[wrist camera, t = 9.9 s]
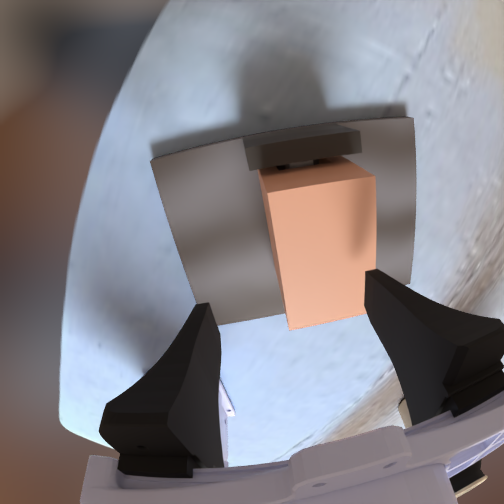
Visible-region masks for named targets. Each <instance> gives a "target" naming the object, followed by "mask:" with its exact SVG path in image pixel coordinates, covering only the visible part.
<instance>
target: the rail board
mask: <svg viewBox="0 0 504 504" xmlns="http://www.w3.org/2000/svg"><path fill="white" fill-rule="evenodd" d="M335 156H343V157H344V158H346V159H348V160H350V161H351V162H353V163H355V164H356V165H358V166H360V167H361V168H363V169H365V170H366V171H368V172H370V173H371V174H373V175H374V176H375V179H376V269H379V270H381V271H382V272H384V273H386V274H387V275H389V276H390V277H392V278H394V279H395V280H397V281H398V282H400V283H402V284H403V285H407V284H410V280H411V271H412V261H413V250H414V237H415V219H416V148H415V130H414V118H411V117H389V118H374V119H361V120H350V121H341V122H332V123H323V124H315V125H308V126H301V127H294V128H288V129H281V130H275V131H270V132H264V133H258V134H253V135H248V136H243V137H238V138H233V139H228V140H224V141H219V142H215V143H210V144H206V145H202V146H198V147H194V148H190V149H186V150H182V151H178V152H174V153H171V154H167V155H163V156H160V157H156V158H153V159H152V160H151V161H150V163H151V166H152V170H153V173H154V177H155V180H156V184H157V187H158V190H159V194H160V197H161V200H162V203H163V207H164V210H165V213H166V216H167V219H168V222H169V225H170V228H171V231H172V235H173V238H174V241H175V244H176V246H177V249H178V252H179V255H180V258H181V261H182V264H183V267H184V270H185V272H186V275H187V278H188V281H189V284H190V286H191V289H192V292H193V294H194V297H195V300H196V303H197V304H201V303H207V302H209V303H210V306H211V309H212V312H213V315H214V318H215V321H216V324H217V326H218V325H224V324H230V323H236V322H241V321H247V320H252V319H258V318H263V317H268V316H274V315H279V314H284V313H285V309H284V305H283V301H282V296H281V292H280V288H279V283H278V279H277V275H276V271H275V265H274V259H273V253H272V248H271V242H270V236H269V230H268V225H267V219H266V213H265V208H264V202H263V197H262V191H261V186H260V180H259V175H258V169H263V168H268V167H274V166H276V167H277V169H278V170H285V169H291V168H297V167H304V166H310V165H317V164H319V159H321V158H328V157H335Z"/></svg>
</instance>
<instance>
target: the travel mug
mask: <svg viewBox="0 0 504 504" xmlns="http://www.w3.org/2000/svg"><path fill="white" fill-rule="evenodd" d="M398 410H399V413H400V415H401V418H402V420H403V422H404V425H405V427H406V428H409V427H411V426H412V423H411V418H410V414H409V410H408V407H407V403H406V400H405V399H404V400H403V401H402V403H401V404H400V406H399V408H398ZM481 459H482V458H481ZM481 459H480V460H478V461H477V462H475V463H474V464H472V465H471V466H469V467H467V468H466V469H464V470H462V471H461V472H459V473H457V474H455V475H454V476H452V477H450V478H449V480H450V483H451V485H452V488H453V491H454V493H455V496H456V498H457V497H459V496H461V495H462V494H464V493H466V492H468V491H469V490H471V489H472V488H474V487H476V486H477V485H479V484H480V483H482V482H483V481H485V480H486V479H487V476H485V475H484V474H483V472H482V471H481V470H480V468H481Z"/></svg>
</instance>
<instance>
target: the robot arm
mask: <svg viewBox="0 0 504 504" xmlns="http://www.w3.org/2000/svg"><path fill="white" fill-rule="evenodd" d="M364 307H365V310H366V312H367V315H368V317H369V320H370V322H371V324H372V326H373V328H374V330H375V332H376V333H377V335H378V337H379V339H380V341H381V342H382V344H383V346H384V348H385V350H386V351H387V353H388V355H389V357H390V359H391V361H392V363H393V365H394V368H395V371H396V373H397V376H398V379H399V381H400V384H401V387H402V390H403V393H404V396H405V400H406V403H407V407H408V410H409V414H410V418H411V423H412V426H411V427H409V428H406V429H402V427H399V426H392V425H391V426H387V427H382V428H379V429H375V430H372V431H369V432H366V433H362V434H359V435H355V436H352V437H348V438H344V439H340V440H336V441H332V442H328V443H324V444H319V445H315V446H312V447H308V448H305V449H302V450H300V451H298V452H297V453H295V454H293V455H292V456H291V457H290V459H289V460H286V461H280V462H273V463H265V464H257V465H248V466H238V467H228V462H227V458H228V425H227V417H231V416H234V415H235V410H234V408H233V406H232V404H231V402H230V400H229V398H228V396H227V394H226V392H225V389H224V387H223V385H222V383H221V381H220V367H221V338H220V332H219V330H218V327H217V324H216V321H215V318H214V315H213V312H212V309H211V306H210V303H209V302H207V303H201V304H196V305H195V307H194V308H193V310H192V312H191V314H190V315H189V317H188V319H187V320H186V322H185V324H184V325H183V327H182V329H181V330H180V332H179V333H178V335H177V337H176V338H175V340H174V341H173V342H172V344H171V345H170V347H169V348H168V349H167V351H166V352H165V353H164V355H163V356H162V357H161V358H160V359H159V361H158V362H157V363H156V364H155V365H154V366H153V367H152V368H151V369H150V370H149V371H148V372H147V373H146V374H144V376H143V377H142V378H141V379H140V380H138V381H137V382H136V383H135V384H134V385H132V386H131V387H130V388H129V389H127V390H126V391H125V392H123V393H122V394H120V395H119V396H117V397H116V398H114V399H113V400H111V401H110V402H108V403H106V406H105V409H104V412H103V416H102V420H101V423H100V427H99V433H100V435H101V437H102V438H103V439H104V440H105V441H106V442H107V443H108V444H109V445H111V446H112V447H113V448H114V449H115V450H117V451H118V452H119V453H120V457H119V460H117V459H115V458H111V457H104V456H97V455H90V456H89V460H88V465H87V470H86V474H85V478H84V483H83V488H82V493H81V498H80V503H81V504H458V502H457V499H456V496H455V493H454V491H453V488H452V485H451V483H450V480H449V478H450V477H452V476H454V475H455V474H457V473H459V472H461V471H462V470H464V469H466V468H467V467H469V466H471V465H472V464H474V463H475V462H477V461H478V460H480V459H481V458H483V457H485V456H486V455H487V454H489V453H490V452H492V451H493V450H495V449H496V448H498V447H499V446H500V445H502V444H503V443H504V372H503V371H502V369H503V368H504V365H503V363H502V362H501V359H502V357H503V355H504V324H503V323H502V322H501V320H500V319H496V318H489V317H482V316H477V315H473V314H468V313H465V312H461V311H458V310H455V309H452V308H449V307H447V306H444V305H442V304H439V303H437V302H435V301H432V300H430V299H428V298H426V297H424V296H422V295H421V294H419V293H417V292H415V291H413V290H412V289H410V288H408V287H406V286H405V285H403V284H402V283H400V282H398V281H397V280H395V279H394V278H392V277H390V276H389V275H387V274H386V273H384V272H382V271H381V270H379V269H373V270H368V271H365V294H364Z"/></svg>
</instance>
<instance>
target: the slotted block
mask: <svg viewBox="0 0 504 504" xmlns="http://www.w3.org/2000/svg"><path fill="white" fill-rule="evenodd" d="M258 175H259V180H260V186H261V191H262V197H263V202H264V208H265V213H266V219H267V225H268V230H269V236H270V242H271V248H272V253H273V259H274V265H275V271H276V275H277V279H278V283H279V288H280V292H281V296H282V301H283V305H284V309H285V314H286V318H287V323H288V327H289V331H290V330H295V329H300V328H305V327H310V326H314V325H319V324H324V323H328V322H333V321H337V320H341V319H346V318H350V317H354V316H358V315H362V314H366V313H367V312H366V310H365V307H364V294H365V271H368V270H373V269H376V179H375V176H374V175H373V174H371V173H370V172H368V171H366V170H365V169H363V168H361V167H360V166H358V165H356V164H355V163H353V162H351V161H350V160H348V159H346V158H344V157H343V156H335V157H328V158H321V159H319V164H317V165H310V166H304V167H297V168H291V169H285V170H278V169H277V167H276V166H274V167H268V168H263V169H258Z"/></svg>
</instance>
